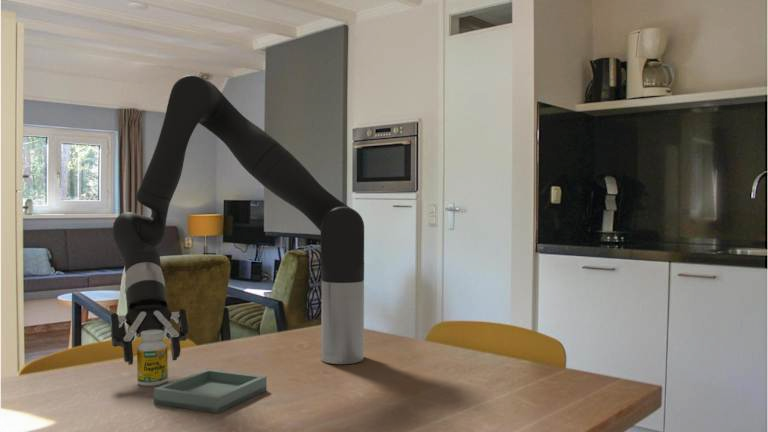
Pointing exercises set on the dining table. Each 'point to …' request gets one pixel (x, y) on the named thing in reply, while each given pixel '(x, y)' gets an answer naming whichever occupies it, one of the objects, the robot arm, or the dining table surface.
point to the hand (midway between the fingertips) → (153, 360)
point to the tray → (210, 390)
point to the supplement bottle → (152, 359)
